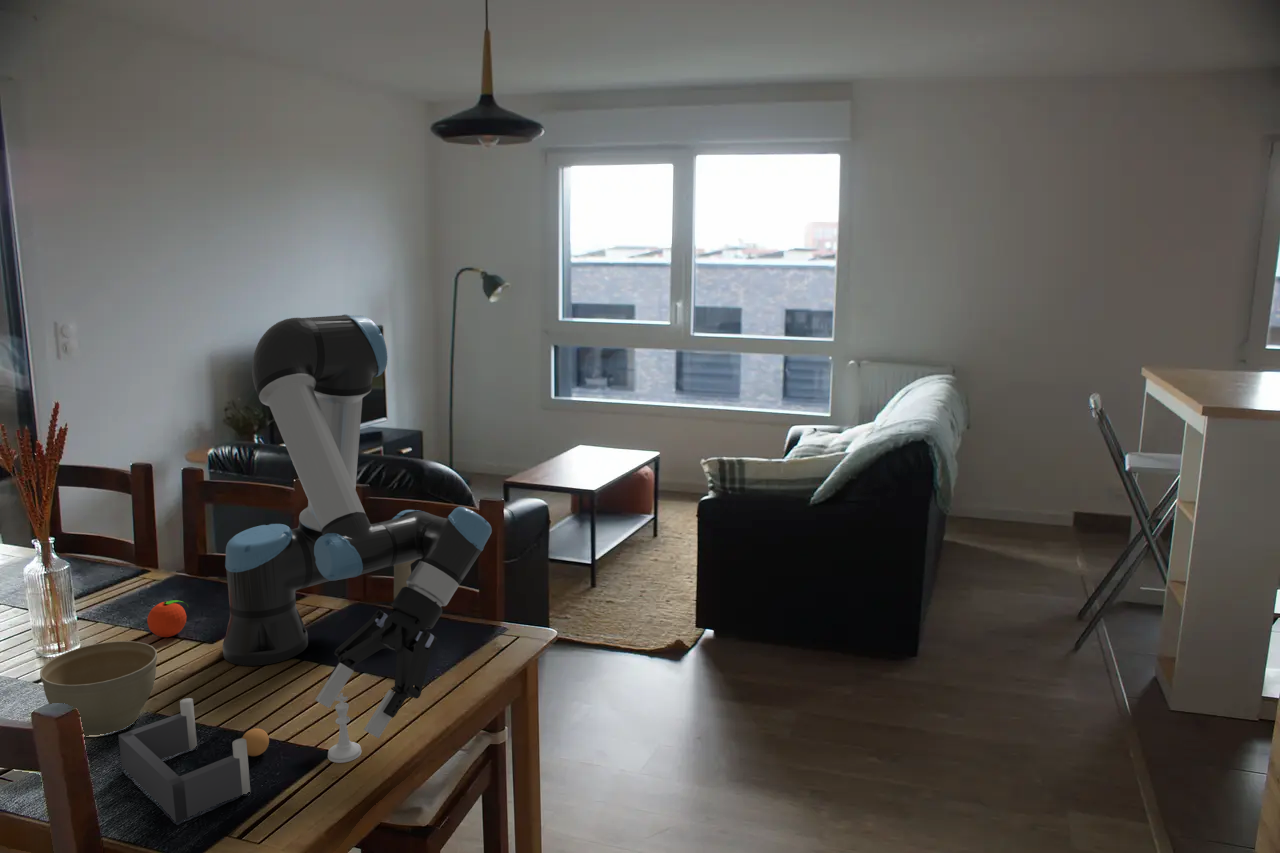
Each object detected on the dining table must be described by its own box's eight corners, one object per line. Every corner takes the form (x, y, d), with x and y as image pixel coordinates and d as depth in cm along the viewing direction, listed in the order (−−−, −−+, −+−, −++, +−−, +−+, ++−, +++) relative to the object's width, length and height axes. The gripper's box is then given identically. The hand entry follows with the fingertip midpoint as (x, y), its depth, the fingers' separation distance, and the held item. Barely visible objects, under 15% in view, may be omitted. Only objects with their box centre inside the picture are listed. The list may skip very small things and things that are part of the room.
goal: (194, 744, 143) (189, 696, 142) (252, 793, 131) (248, 741, 129) (122, 772, 136) (116, 722, 134) (176, 826, 123) (171, 772, 122)
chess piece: (332, 746, 143) (328, 686, 141) (364, 745, 144) (361, 685, 142) (324, 763, 138) (320, 701, 137) (357, 762, 139) (354, 700, 137)
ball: (235, 757, 140) (233, 733, 139) (257, 744, 143) (255, 721, 143) (254, 763, 138) (252, 739, 137) (275, 751, 142) (273, 727, 141)
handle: (402, 631, 186) (399, 560, 183) (386, 622, 191) (382, 552, 188) (423, 624, 190) (420, 554, 187) (406, 615, 194) (403, 547, 191)
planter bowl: (82, 761, 138) (74, 694, 136) (27, 731, 147) (19, 668, 145) (183, 716, 152) (177, 654, 150) (128, 691, 160) (122, 632, 158)
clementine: (181, 624, 189) (178, 591, 188) (200, 632, 185) (197, 598, 184) (142, 637, 182) (138, 603, 181) (160, 646, 178) (156, 611, 177)
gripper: (488, 628, 142) (410, 757, 134) (394, 589, 158) (319, 702, 150) (459, 605, 137) (376, 738, 129) (365, 567, 153) (286, 683, 145)
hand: (345, 719), depth 139 cm, fingers open, 13 cm apart
